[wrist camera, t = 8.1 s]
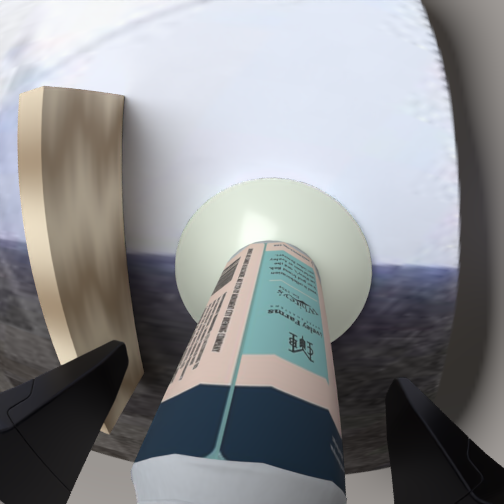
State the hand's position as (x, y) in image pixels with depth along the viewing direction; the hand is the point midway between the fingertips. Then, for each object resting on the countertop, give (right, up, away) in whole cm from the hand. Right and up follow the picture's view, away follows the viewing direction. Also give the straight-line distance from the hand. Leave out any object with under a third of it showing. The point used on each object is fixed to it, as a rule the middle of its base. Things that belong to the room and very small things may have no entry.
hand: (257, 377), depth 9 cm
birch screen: (-8, +4, +7) cm, 12 cm away
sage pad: (+1, +3, +7) cm, 7 cm away
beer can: (+1, +2, +6) cm, 7 cm away
